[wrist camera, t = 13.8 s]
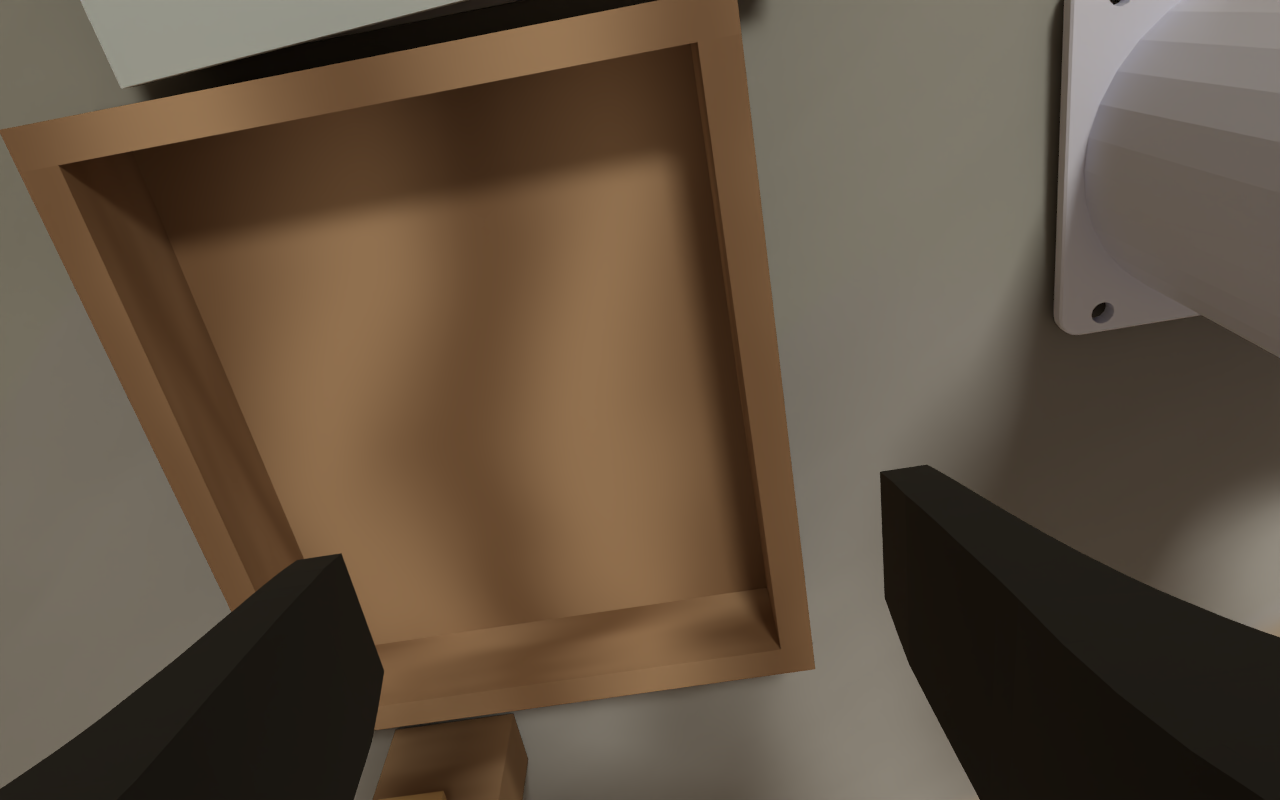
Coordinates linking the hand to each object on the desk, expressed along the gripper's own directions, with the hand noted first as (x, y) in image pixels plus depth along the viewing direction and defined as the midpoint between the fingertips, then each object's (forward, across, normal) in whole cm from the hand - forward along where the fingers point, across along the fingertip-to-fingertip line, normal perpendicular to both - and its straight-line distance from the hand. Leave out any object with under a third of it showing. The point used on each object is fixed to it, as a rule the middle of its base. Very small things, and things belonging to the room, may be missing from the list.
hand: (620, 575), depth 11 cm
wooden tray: (+11, +3, +4) cm, 12 cm away
